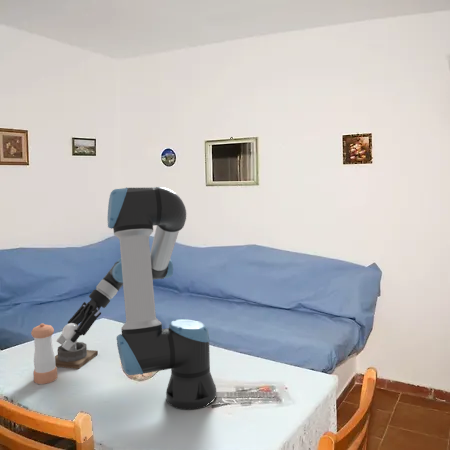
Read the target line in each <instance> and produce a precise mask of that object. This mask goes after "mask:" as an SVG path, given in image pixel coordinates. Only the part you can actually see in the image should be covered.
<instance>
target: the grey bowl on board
mask: <svg viewBox="0 0 450 450" xmlns="http://www.w3.org/2000/svg"><path fill="white" fill-rule="evenodd" d="M62 346H63V345H61V344H60V345H59V346H58V347H57V354H56V355H55V366H56V367H57V368H66V369H67V368H68V369H77V370H79V369H80V368H82V367H83V366H85V365H86V364H88V363H89V362H91V360H93V359H94V358H96V357H97V356H98V355H99V352H98V350H92V349H91V350H90V349H88V348H87V347H88V346H87V343H85V342H84V341H77V343H76V350H75V351H68V350H66V349H65V348H63V347H62Z"/></svg>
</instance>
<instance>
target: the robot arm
mask: <svg viewBox="0 0 450 450" xmlns="http://www.w3.org/2000/svg"><path fill="white" fill-rule="evenodd" d="M107 207H108V208H107V228H108V229H110V230H112V229H113V235H114V236H115V237H116V238H117V239H118V240H119V248H120V258H118V260H117V261H116V262H114V265H112V266H111V268H110V269H109V270H108V272H107V273H106V274H105V276H104V277H103V278H102V279H101V280H100V281H99V283H98V284H97V285H96V286H95V287H96V289H95V288H94V289H93V290H92V292H91V293H90V294H89V296H88V297H89V299H90V300H89V301H88V302H86V301H84V302H82V304H81V306H80V307H79V308H78V309H77V311H76V312H75V313H74V314H73V315H72V317H70V319H69V320H68V321H67V324H69V323H75V324H77V325H78V328H77V330H74V331H75V332H73V333H72V334H71V336H70V337H69V338H68V339H67V341H66V340H65V338H64V337H63V335H62V333H61V335H60V336H59V337H58V338H57V339H56V342H57V343H58V344H60V346H61V345H63V346H62V347H63V348H65V349H66V350H68V351H69V349H70V348H71V347H72V345H73V344H74V343H75V342H76V340H77V341H78V339H79V338H80V337H81V336H86V334H87V332H88V331H89V330H90V329H91V327H92V326H93V325H94V323H95V322H96V321H97V320H98V318H99V317H100V316H101V315H102V312H101V311H100V310H101V308H103V309H105V308H107V306H108V305H109V304H110V302H111V300H112V299H114V297H115V296H117V293H118V292H119V291H120V289H121V288H122V287H123V288H122V289H123V297H124V309H125V310H124V312H125V323H124V324H123V325H122V327H121V328H120V329H121V334H118V335H116V345H117V350H118V354H119V355H118V356H119V360H120V363H121V366H122V369H123V371H124V373H125V375H128V376H137V375H144V374H149V373H153V372H154V373H155V372H160V371H167V370H170V373H171V374H170V377H169V380H168V384H167V387H166V392H165V393H166V398H165V399H166V402H167V403H168V404H169V405H170V406H171V407H174V408H176V409H180V410H196V409H200V408H201V409H202V408H205V407H207V406H206V405H207V404H208V403H210V402H211V401H212V400H213V399H214V398H215V396H216V397H217V388H216V383H215V381H214V379H213V375H212V373H211V358H210V354H211V353H210V341H211V340H210V333H209V327H208V326H207V325H206V324H205V323H203V322H201V321H199V320H194V319H185V318H184V319H183V318H182V319H175V320H172V321H170V323H169V325H168V327H166V328H163V323H162V322H161V321H160V320H159V319H158V318H157V316H156V304H155V291H154V282H153V281H154V280H164V279H169V278H171V277H173V275H174V265H173V261H172V259H171V257H172V255H173V251H174V248H175V245H176V241H177V239H178V235H179V232H180V231H181V230H182V229H183V228H184V226H185V223H186V221H187V209H186V206H185V203H184V202H183V199H182V198H180V196H179V195H178V194H177V193H176V192H175V191H173V190H171V189H170V188H167V187H161V186H154V187H124V188H123V187H121V188H115V189H112V191H111V192H110V194H109V199H108V206H107ZM154 226H156V227H155V231H154ZM153 232H154V236H153V239H152V244H151V245H150V236H151V235H152V234H153ZM150 246H151V247H150ZM204 406H205V407H204Z"/></svg>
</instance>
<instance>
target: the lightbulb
mask: <svg viewBox="0 0 450 450" xmlns="http://www.w3.org/2000/svg"><path fill="white" fill-rule="evenodd" d="M78 326H79V324H78V325H77V324H75V323H69V324H68V323H67V324H65V325H64V327H63V328H62V333H61V334H62V335H63V337H64V338H65V340H66V341H67V339H68V338H69V337H70V336H71V334H72V333H73V332H75V331H74V330H77V328H78ZM66 341H65V342H66ZM77 342H78V339H77V340H76V342H75V343H74V344H73V345H72V347H71V348H70V349H69V351H75V350H76V343H77Z"/></svg>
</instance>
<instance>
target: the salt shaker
mask: <svg viewBox="0 0 450 450" xmlns="http://www.w3.org/2000/svg"><path fill="white" fill-rule="evenodd" d="M54 332H55V329H54V327H53V326H52V325H50V324H45V323H40V324H39V325H37V326H34V327H33V328H32V330H31V331H30V334H31V337H32V338H33V343H34V354H33V366H34V369H33V381H34V383H35V384H36V385H37V384H39V385H44V384H45V385H46V384H50V383H52V382H55V381H56V380H57V379H58V367H56V366H55V356H56V355H55V351H54V347H53V335H54Z"/></svg>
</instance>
